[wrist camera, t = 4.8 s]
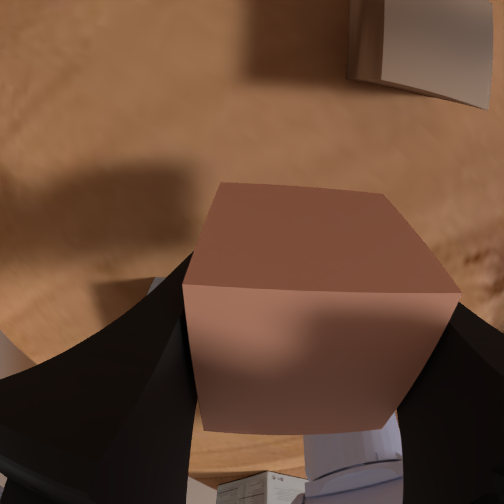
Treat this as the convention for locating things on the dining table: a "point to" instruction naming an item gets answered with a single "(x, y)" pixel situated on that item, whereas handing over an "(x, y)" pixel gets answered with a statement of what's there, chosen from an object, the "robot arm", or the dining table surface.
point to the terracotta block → (309, 310)
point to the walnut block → (424, 47)
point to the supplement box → (261, 489)
